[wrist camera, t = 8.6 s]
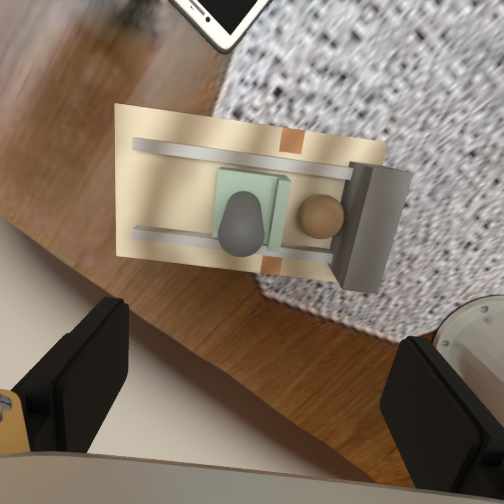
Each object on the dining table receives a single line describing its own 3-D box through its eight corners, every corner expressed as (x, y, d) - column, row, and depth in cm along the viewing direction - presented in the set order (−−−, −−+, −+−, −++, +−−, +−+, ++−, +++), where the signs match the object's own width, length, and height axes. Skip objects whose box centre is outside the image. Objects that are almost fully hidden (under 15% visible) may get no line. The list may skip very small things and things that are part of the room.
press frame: (381, 142, 30) (421, 144, 23) (346, 277, 35) (371, 314, 28) (121, 104, 29) (79, 95, 22) (122, 250, 34) (88, 281, 27)
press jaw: (286, 175, 29) (303, 196, 20) (275, 238, 31) (287, 283, 22) (220, 166, 29) (206, 183, 19) (214, 230, 31) (198, 273, 22)
